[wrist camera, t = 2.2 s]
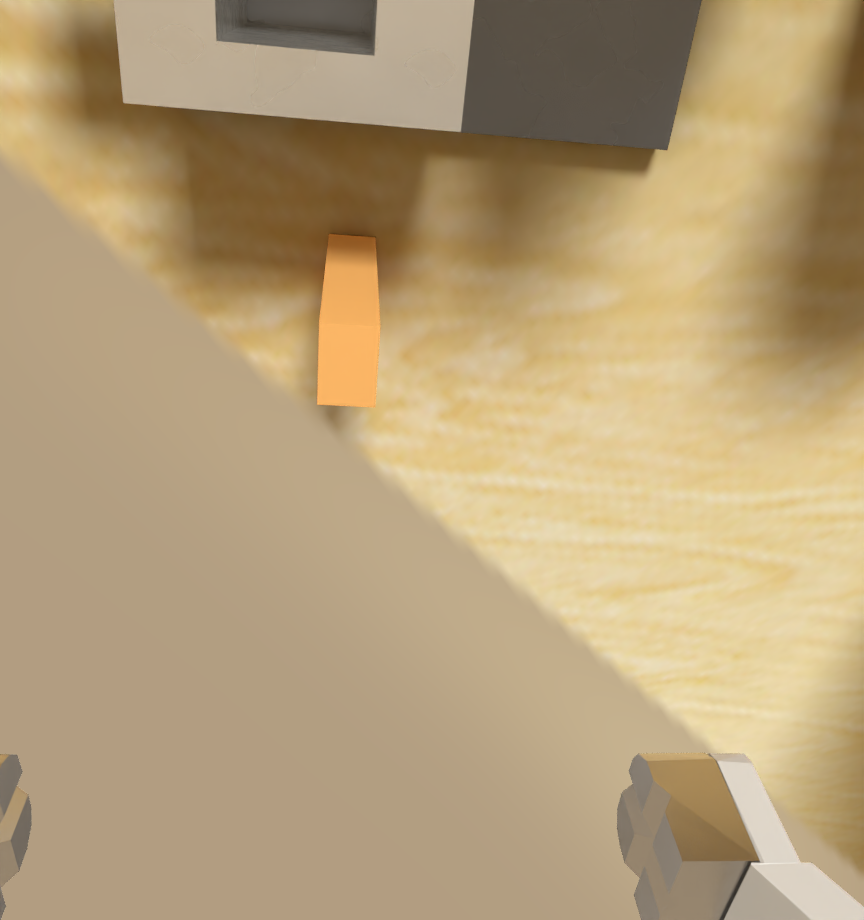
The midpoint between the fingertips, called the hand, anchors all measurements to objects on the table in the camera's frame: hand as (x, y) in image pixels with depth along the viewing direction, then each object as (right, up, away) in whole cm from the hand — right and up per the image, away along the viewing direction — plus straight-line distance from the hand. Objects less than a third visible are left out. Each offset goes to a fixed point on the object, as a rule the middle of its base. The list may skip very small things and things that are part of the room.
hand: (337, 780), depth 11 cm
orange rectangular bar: (-2, +11, +18) cm, 21 cm away
